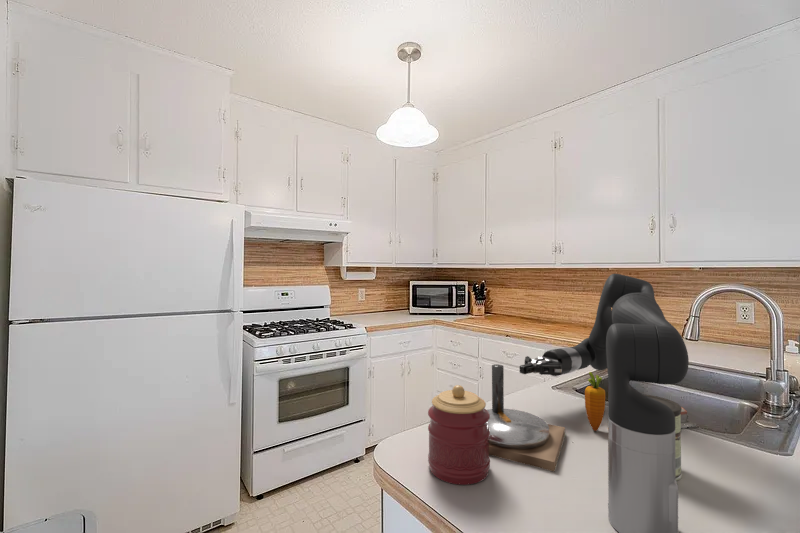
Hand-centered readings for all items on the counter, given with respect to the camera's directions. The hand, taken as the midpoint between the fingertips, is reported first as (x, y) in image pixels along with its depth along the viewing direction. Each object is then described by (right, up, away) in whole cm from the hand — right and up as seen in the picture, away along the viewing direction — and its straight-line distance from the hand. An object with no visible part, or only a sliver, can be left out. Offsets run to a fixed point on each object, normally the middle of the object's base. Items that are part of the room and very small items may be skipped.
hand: (521, 370), depth 103 cm
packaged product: (+35, -14, -2) cm, 38 cm away
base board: (-7, -14, -12) cm, 20 cm away
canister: (-22, -14, -25) cm, 36 cm away
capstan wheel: (-7, -12, -12) cm, 18 cm away
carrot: (+17, -14, -7) cm, 23 cm away
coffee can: (+19, -14, -25) cm, 34 cm away
